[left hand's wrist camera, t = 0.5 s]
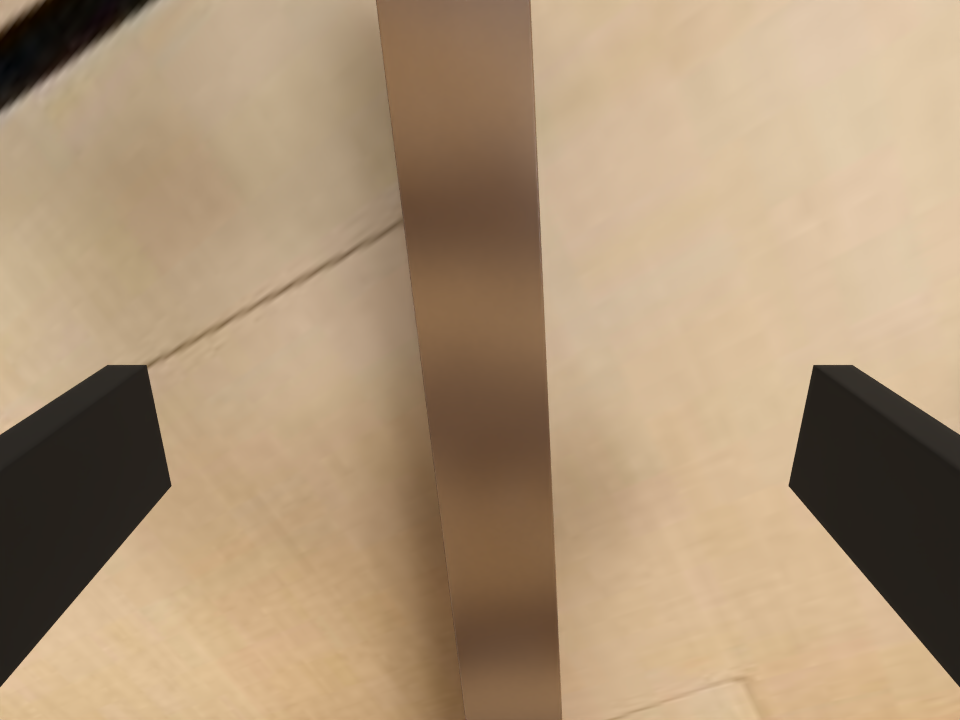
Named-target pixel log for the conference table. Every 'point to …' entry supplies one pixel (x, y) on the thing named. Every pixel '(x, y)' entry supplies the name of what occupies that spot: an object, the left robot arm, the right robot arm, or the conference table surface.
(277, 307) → the conference table surface
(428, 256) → the bar
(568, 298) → the conference table surface
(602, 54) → the conference table surface
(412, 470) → the conference table surface
